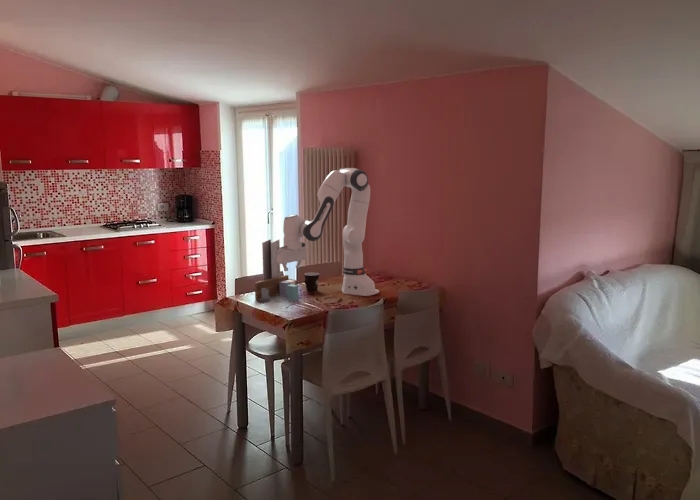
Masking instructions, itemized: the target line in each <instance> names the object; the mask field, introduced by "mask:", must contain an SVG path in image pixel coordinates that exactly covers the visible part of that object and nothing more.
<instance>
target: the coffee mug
mask: <svg viewBox="0 0 700 500" xmlns="http://www.w3.org/2000/svg"><path fill="white" fill-rule="evenodd" d="M319 276H320V273H319V272H305V273H304V284H305V289H306V292H309V293H314V292H315V293H316V292H318V288H319V278H320V277H319Z"/></svg>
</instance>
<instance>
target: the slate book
mask: <svg viewBox="0 0 700 500" xmlns="http://www.w3.org/2000/svg"><path fill="white" fill-rule="evenodd" d="M279 285H280V295H279V296H280V297H285V298H287V285H290V282H287V281H282V282H279Z"/></svg>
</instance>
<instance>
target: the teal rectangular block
mask: <svg viewBox="0 0 700 500" xmlns="http://www.w3.org/2000/svg"><path fill="white" fill-rule="evenodd" d="M286 298H287V300H288V301H292V302H295V301H298V300H299V285H298V284H297V285H293V284H291V285H287V297H286Z"/></svg>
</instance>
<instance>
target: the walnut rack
mask: <svg viewBox="0 0 700 500" xmlns="http://www.w3.org/2000/svg"><path fill="white" fill-rule="evenodd" d="M286 280H293V281H295V285H298V280H297V279H292V278H289V274H285V275H280V277H276V278H271V279H267V280H259V281H255V282H254V295H255V296H254V301H258V300H262V289H261V288H266V289H269V298H272V297H276V296H280V285H279V282H282V281H286Z"/></svg>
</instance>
